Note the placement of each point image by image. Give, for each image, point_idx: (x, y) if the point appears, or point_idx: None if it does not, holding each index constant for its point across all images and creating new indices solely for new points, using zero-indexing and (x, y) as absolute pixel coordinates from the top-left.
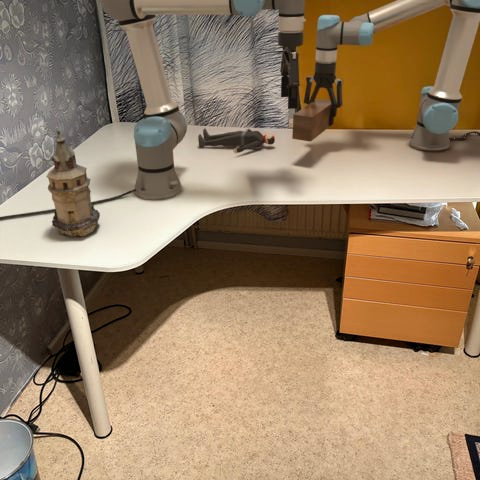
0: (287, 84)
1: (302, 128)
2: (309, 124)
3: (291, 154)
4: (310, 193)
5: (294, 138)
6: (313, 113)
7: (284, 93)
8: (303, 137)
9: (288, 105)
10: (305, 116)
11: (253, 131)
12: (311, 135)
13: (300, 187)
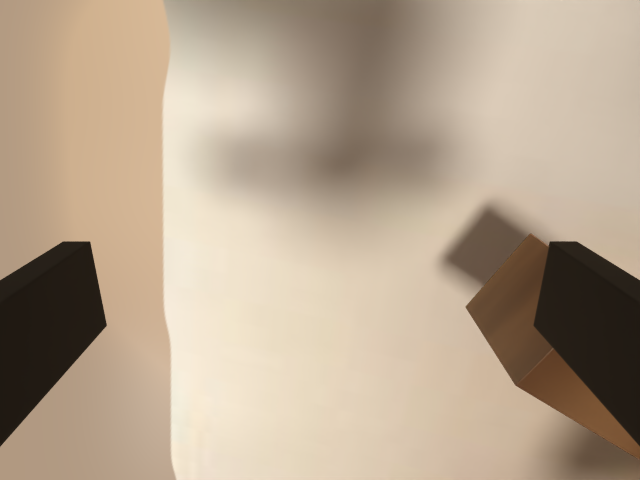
0: (633, 400)
1: (521, 301)
2: (506, 346)
3: (600, 218)
4: (216, 217)
5: (523, 243)
6: (587, 404)
7: (565, 295)
8: (495, 285)
9: (42, 256)
10: (546, 353)
11: None
12: (478, 324)
13: (270, 193)
